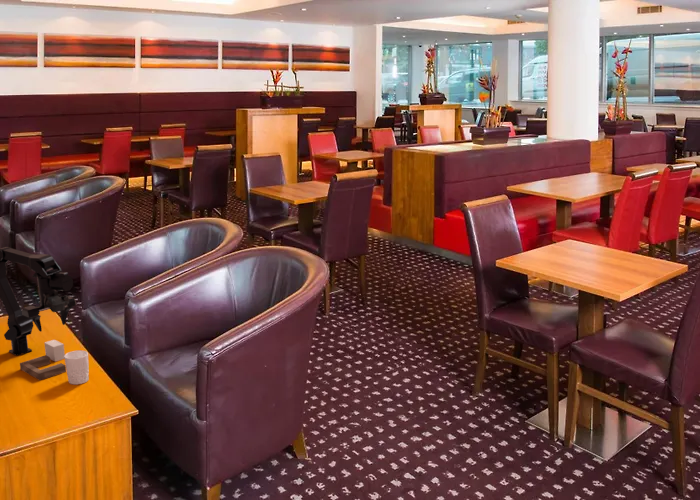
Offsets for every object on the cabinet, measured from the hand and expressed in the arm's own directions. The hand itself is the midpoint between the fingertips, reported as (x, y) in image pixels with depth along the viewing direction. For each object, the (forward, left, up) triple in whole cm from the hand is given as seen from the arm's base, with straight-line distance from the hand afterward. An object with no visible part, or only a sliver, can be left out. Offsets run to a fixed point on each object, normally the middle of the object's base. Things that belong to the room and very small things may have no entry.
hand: (52, 328), depth 276 cm
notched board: (+8, -9, -12) cm, 17 cm away
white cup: (+26, -5, -12) cm, 29 cm away
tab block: (0, 0, -12) cm, 12 cm away
